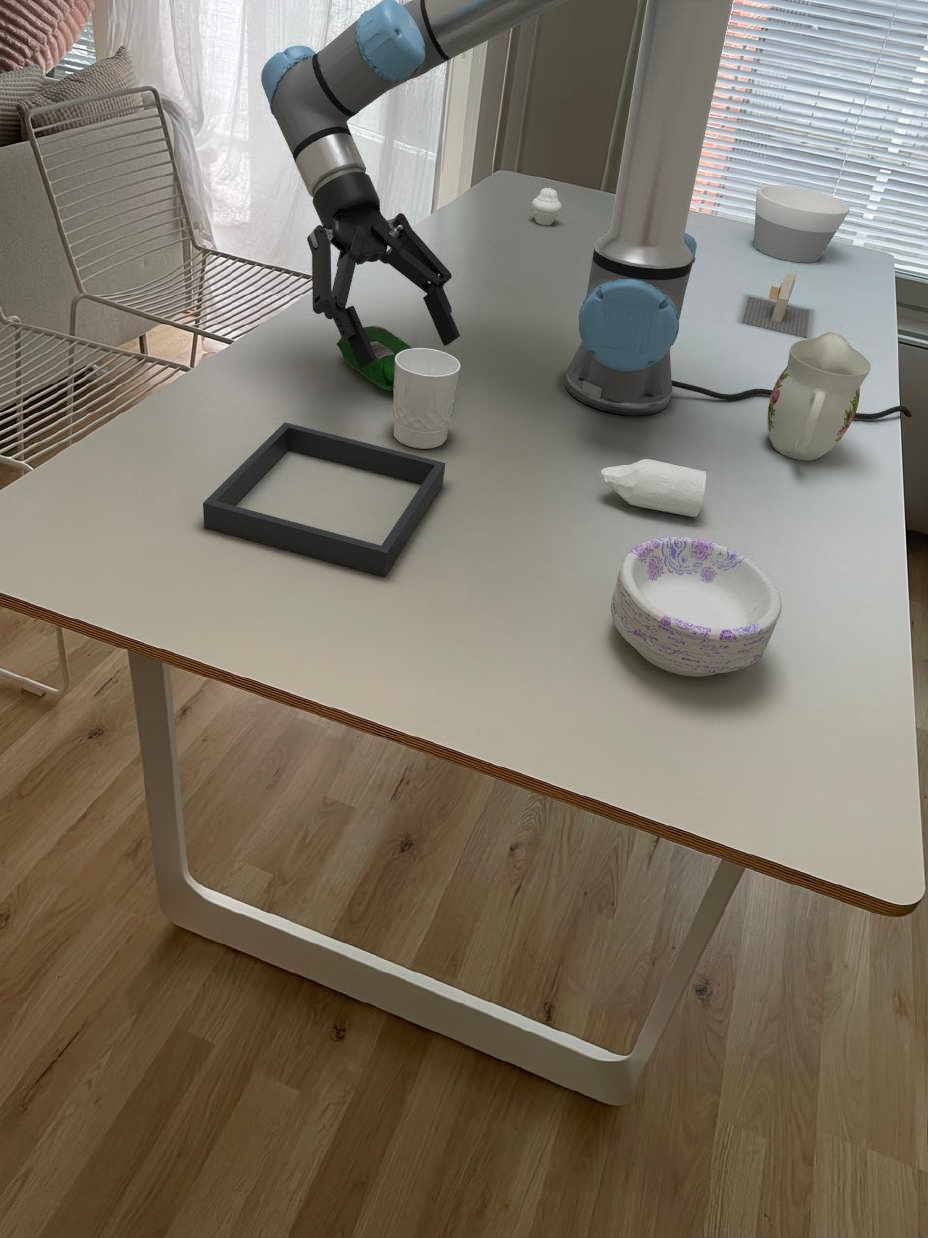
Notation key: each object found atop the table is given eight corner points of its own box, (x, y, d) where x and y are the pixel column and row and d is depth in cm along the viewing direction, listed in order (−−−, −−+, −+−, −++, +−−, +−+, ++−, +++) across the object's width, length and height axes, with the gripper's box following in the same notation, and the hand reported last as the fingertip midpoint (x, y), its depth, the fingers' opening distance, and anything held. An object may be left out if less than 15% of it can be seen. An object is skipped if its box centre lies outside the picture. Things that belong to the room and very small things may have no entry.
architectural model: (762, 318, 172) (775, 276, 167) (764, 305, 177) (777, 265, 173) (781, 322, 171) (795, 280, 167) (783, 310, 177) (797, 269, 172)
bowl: (843, 271, 200) (862, 218, 193) (752, 260, 199) (769, 205, 192) (817, 242, 215) (834, 191, 208) (733, 231, 214) (748, 179, 207)
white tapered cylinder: (595, 482, 118) (605, 442, 115) (692, 501, 118) (705, 460, 114) (593, 508, 113) (603, 466, 110) (695, 526, 113) (708, 485, 109)
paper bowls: (656, 713, 87) (679, 646, 82) (576, 610, 97) (592, 545, 92) (789, 681, 93) (818, 617, 88) (699, 588, 103) (721, 525, 98)
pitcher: (747, 468, 126) (781, 370, 117) (762, 414, 140) (794, 322, 131) (832, 492, 124) (873, 393, 115) (839, 435, 137) (876, 343, 129)
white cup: (387, 419, 124) (394, 345, 118) (448, 423, 125) (457, 350, 119) (389, 449, 118) (395, 373, 112) (453, 454, 119) (463, 378, 113)
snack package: (390, 405, 127) (394, 368, 124) (331, 357, 137) (333, 321, 133) (434, 397, 131) (439, 361, 128) (374, 350, 140) (376, 315, 137)
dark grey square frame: (442, 485, 113) (445, 462, 111) (385, 577, 98) (387, 552, 96) (284, 444, 116) (284, 421, 114) (203, 527, 100) (202, 502, 99)
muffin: (527, 224, 198) (533, 188, 194) (530, 216, 203) (536, 181, 199) (557, 229, 198) (563, 193, 194) (559, 221, 203) (565, 186, 199)
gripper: (401, 192, 126) (466, 344, 128) (238, 214, 111) (314, 386, 113) (433, 159, 120) (501, 319, 122) (265, 177, 105) (345, 360, 107)
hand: (411, 352), depth 117 cm, fingers open, 13 cm apart
